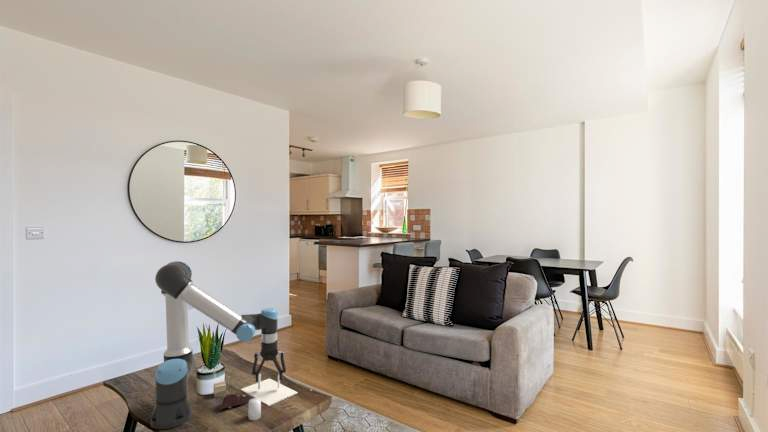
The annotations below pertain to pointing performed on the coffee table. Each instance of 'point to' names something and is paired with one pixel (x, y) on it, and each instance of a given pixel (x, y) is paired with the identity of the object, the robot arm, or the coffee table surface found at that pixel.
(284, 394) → the cream mat
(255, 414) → the white cylinder
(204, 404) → the coffee table surface
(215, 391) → the beech block
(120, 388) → the coffee table surface
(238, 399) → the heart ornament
